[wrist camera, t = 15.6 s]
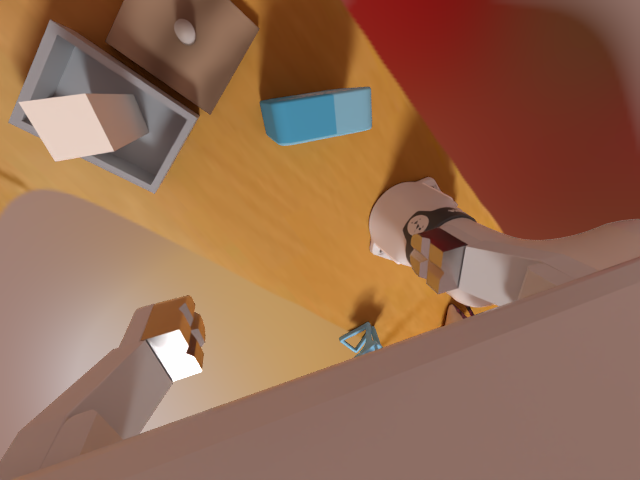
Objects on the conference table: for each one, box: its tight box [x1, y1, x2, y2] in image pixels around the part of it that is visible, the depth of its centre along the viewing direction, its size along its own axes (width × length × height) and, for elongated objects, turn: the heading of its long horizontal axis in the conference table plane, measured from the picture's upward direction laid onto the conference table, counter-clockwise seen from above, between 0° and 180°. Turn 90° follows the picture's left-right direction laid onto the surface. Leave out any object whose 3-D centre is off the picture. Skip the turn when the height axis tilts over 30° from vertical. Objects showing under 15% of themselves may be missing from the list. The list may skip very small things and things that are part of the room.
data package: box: [260, 87, 372, 146], centre depth 35 cm, size 12×4×12 cm, turn 98°
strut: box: [19, 93, 149, 162], centre depth 27 cm, size 4×4×14 cm
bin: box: [8, 20, 199, 194], centre depth 32 cm, size 14×11×5 cm
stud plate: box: [105, 0, 259, 114], centre depth 31 cm, size 12×12×4 cm
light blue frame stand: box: [339, 322, 383, 358], centre depth 63 cm, size 8×8×12 cm
